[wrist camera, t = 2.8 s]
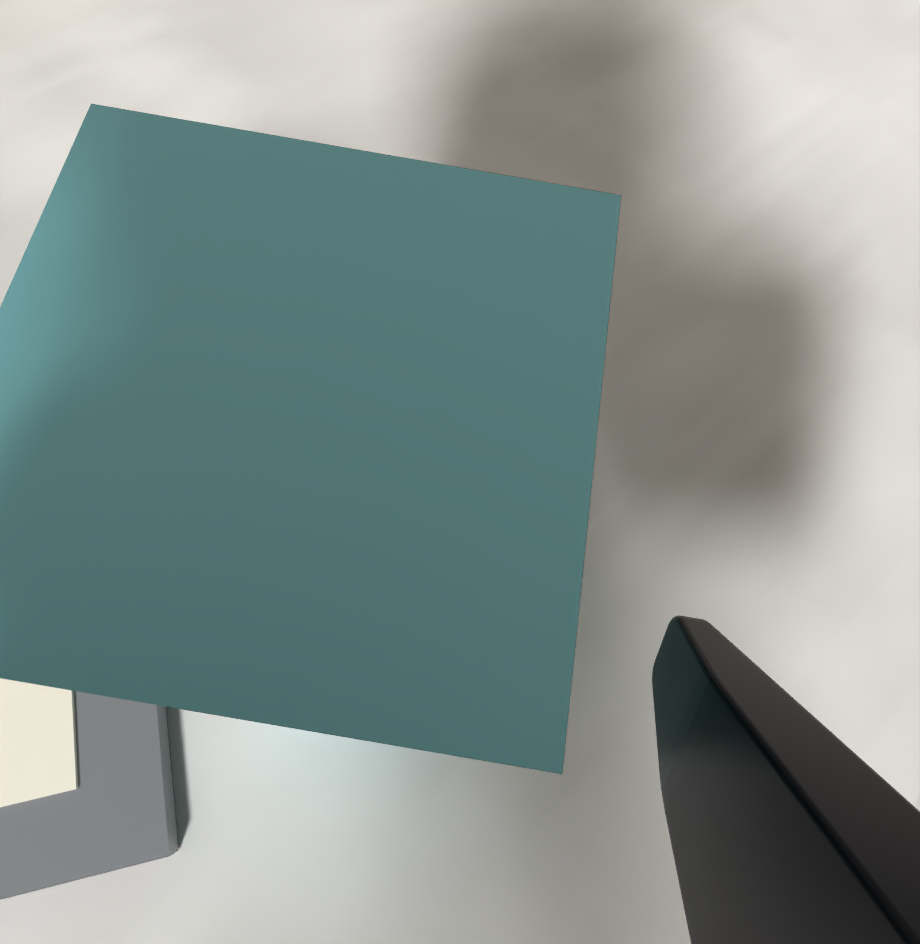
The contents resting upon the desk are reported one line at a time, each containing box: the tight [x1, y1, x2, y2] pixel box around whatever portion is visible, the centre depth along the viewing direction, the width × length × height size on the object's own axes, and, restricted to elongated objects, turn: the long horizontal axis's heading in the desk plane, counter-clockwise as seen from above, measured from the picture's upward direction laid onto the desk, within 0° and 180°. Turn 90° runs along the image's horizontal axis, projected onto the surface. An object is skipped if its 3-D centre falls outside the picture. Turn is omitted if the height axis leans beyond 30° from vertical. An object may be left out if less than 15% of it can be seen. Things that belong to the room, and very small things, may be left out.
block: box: [0, 104, 621, 774], centre depth 11 cm, size 5×5×12 cm
